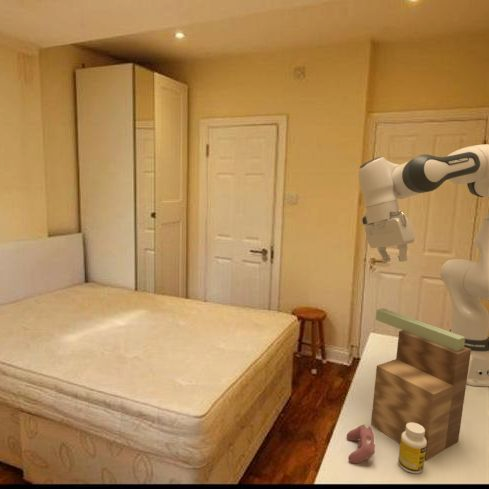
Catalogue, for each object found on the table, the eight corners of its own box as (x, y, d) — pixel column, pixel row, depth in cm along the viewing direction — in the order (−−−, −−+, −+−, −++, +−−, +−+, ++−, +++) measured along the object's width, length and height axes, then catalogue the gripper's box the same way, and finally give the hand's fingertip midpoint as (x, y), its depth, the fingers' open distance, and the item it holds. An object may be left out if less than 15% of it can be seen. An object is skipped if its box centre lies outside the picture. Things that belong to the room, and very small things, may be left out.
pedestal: (371, 424, 107) (379, 336, 103) (403, 409, 115) (412, 327, 111) (425, 460, 94) (437, 361, 90) (458, 441, 102) (471, 349, 97)
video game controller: (364, 472, 92) (380, 450, 90) (346, 461, 92) (363, 439, 91) (360, 445, 101) (375, 424, 100) (344, 435, 102) (359, 414, 100)
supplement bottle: (421, 478, 89) (426, 438, 87) (395, 468, 91) (400, 429, 90) (425, 463, 93) (429, 425, 91) (400, 454, 96) (404, 417, 94)
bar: (375, 319, 116) (376, 309, 115) (382, 318, 117) (383, 308, 117) (456, 351, 96) (458, 339, 95) (463, 348, 97) (465, 337, 97)
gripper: (413, 206, 104) (425, 258, 104) (377, 216, 125) (387, 259, 124) (391, 211, 104) (404, 263, 103) (358, 220, 124) (369, 264, 123)
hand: (394, 261), depth 114 cm, fingers open, 8 cm apart
